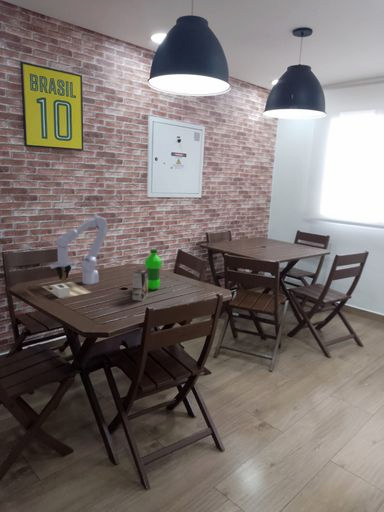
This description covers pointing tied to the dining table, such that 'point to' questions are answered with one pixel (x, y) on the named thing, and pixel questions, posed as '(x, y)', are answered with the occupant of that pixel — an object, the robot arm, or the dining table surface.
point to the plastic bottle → (153, 269)
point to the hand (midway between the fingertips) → (63, 278)
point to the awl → (63, 276)
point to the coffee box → (140, 284)
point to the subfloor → (71, 289)
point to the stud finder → (61, 290)
